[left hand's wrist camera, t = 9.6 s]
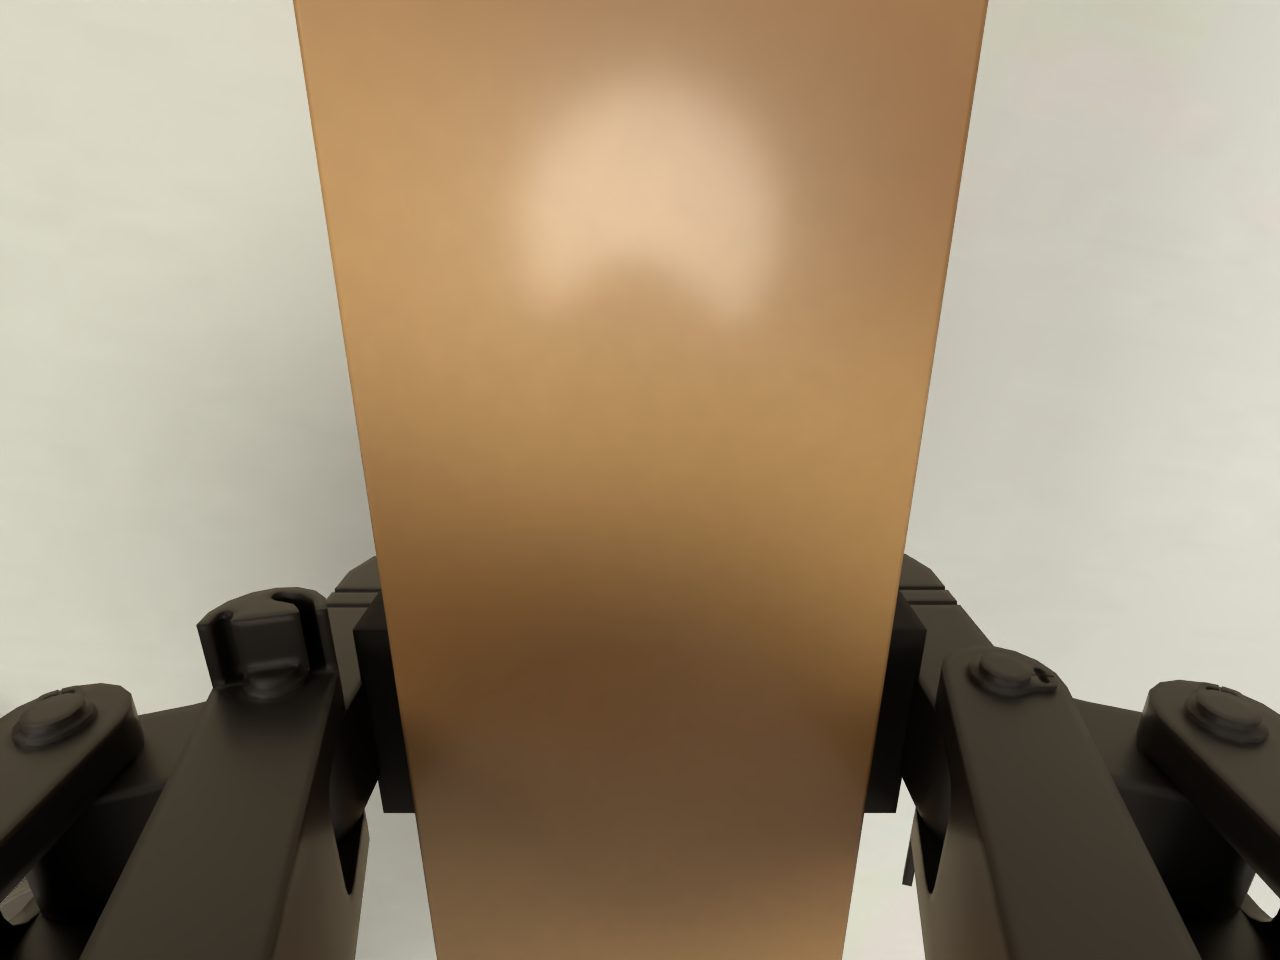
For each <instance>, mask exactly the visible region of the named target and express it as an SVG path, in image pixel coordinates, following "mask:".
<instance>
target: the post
mask: <svg viewBox="0 0 1280 960" xmlns="http://www.w3.org/2000/svg"><path fill="white" fill-rule="evenodd" d="M293 4H294V10H295V17H296V24H297V30H298V37H299V43H300V50H301V57H302V63H303V70H304V77H305V83H306V90H307V97H308V103H309V110H310V117H311V123H312V130H313V137H314V143H315V150H316V157H317V163H318V170H319V177H320V183H321V190H322V196H323V203H324V210H325V216H326V223H327V230H328V236H329V243H330V250H331V256H332V263H333V270H334V276H335V283H336V290H337V296H338V303H339V310H340V316H341V323H342V330H343V336H344V343H345V350H346V356H347V363H348V369H349V376H350V383H351V389H352V396H353V403H354V409H355V416H356V423H357V429H358V436H359V443H360V449H361V456H362V463H363V469H364V476H365V483H366V489H367V496H368V503H369V509H370V516H371V523H372V529H373V536H374V542H375V549H376V556H377V562H378V569H379V576H380V582H381V589H382V596H383V602H384V609H385V616H386V622H387V629H388V636H389V642H390V649H391V656H392V662H393V669H394V676H395V682H396V689H397V695H398V702H399V709H400V715H401V722H402V729H403V735H404V742H405V749H406V755H407V762H408V769H409V775H410V782H411V789H412V795H413V802H414V809H415V815H416V822H417V829H418V835H419V842H420V849H421V855H422V862H423V868H424V875H425V882H426V888H427V895H428V902H429V908H430V915H431V922H432V928H433V935H434V942H435V948H436V955H437V960H842V955H843V948H844V941H845V935H846V928H847V922H848V915H849V909H850V902H851V896H852V889H853V883H854V876H855V869H856V863H857V856H858V850H859V843H860V837H861V830H862V824H863V817H864V811H865V804H866V797H867V791H868V784H869V778H870V771H871V765H872V758H873V752H874V745H875V739H876V732H877V726H878V719H879V712H880V706H881V699H882V693H883V686H884V680H885V673H886V667H887V660H888V654H889V647H890V640H891V634H892V627H893V621H894V614H895V608H896V601H897V595H898V588H899V582H900V575H901V568H902V562H903V555H904V549H905V542H906V536H907V529H908V523H909V516H910V510H911V503H912V496H913V490H914V483H915V477H916V470H917V464H918V457H919V451H920V444H921V438H922V431H923V424H924V418H925V411H926V405H927V398H928V392H929V385H930V379H931V372H932V366H933V359H934V352H935V346H936V339H937V333H938V326H939V320H940V313H941V307H942V300H943V294H944V287H945V280H946V274H947V267H948V261H949V254H950V248H951V241H952V235H953V228H954V222H955V215H956V209H957V202H958V195H959V189H960V182H961V176H962V169H963V163H964V156H965V150H966V143H967V137H968V130H969V123H970V117H971V110H972V104H973V97H974V91H975V84H976V78H977V71H978V65H979V58H980V51H981V45H982V38H983V32H984V25H985V19H986V12H987V6H988V0H293Z"/></svg>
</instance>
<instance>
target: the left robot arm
mask: <svg viewBox="0 0 1280 960" xmlns="http://www.w3.org/2000/svg"><path fill="white" fill-rule="evenodd" d="M197 629H198V633H199V637H200V640H201V644H202V648H203V652H204V656H205V659H206V663H207V667H208V671H209V675H210V678H211V682H212V686H213V689H212V691H211V693H210V695H209V697H208V699H207V701H206V702H202V703H198V704H194V705H189V706H184V707H179V708H174V709H169V710H164V711H159V712H154V713H149V714H144V715H139V716H138V714H137V711H136V708H135V705H134V702H133V699H132V695H131V693H129V692H128V691H127V690H125V689H124V688H123V687H121V686H119V685H111V684H104V683H98V684H89V685H81V686H72V687H67V688H63V689H62V690H60V691H59V690H56V691H53V692H50V693H46V694H44V695H42V696H40V697H39V698H37V699H35V700H33V701H31V702H28V703H26V704H24V705H22V706H19V707H17V708H16V709H14V710H13V711H11V712H10V713H8V714H7V715H5V716H3V717H2V718H0V903H1V902H2V901H3V900H4V899H5V898H6V896H7V895H8V894H9V893H10V892H11V891H12V890H13V889H14V888H15V887H16V886H17V884H18V883H19V882H20V881H21V880H22V879H23V878H24V877H26V880H24V881H23V882H22V883H21V884H20V885H19V886H18V887H17V888H16V889H15V890H14V891H13V892H12V893H11V894H10V895H9V897H8V898H7V899H6V900H5V901H4V902H3V903H2V904H1V905H0V960H355V953H356V945H357V937H358V929H359V920H360V912H361V904H362V896H363V888H364V880H365V871H366V863H367V855H368V847H369V832H368V825H367V820H366V814H365V809H364V808H365V806H366V804H367V802H368V800H369V798H370V796H371V793H372V791H373V789H374V787H375V785H376V783H377V780H378V782H379V788H380V794H381V800H382V806H383V812H384V813H415V809H414V802H413V795H412V789H411V782H410V775H409V769H408V762H407V755H406V749H405V742H404V735H403V729H402V722H401V715H400V709H399V702H398V695H397V689H396V682H395V676H394V669H393V662H392V656H391V649H390V642H389V636H388V629H387V622H386V616H385V609H384V602H383V596H382V589H381V582H380V576H379V569H378V562H377V556H374V557H372V558H371V559H369V560H367V561H366V562H364V563H362V564H361V565H359V566H358V567H356V568H354V569H353V570H351V571H349V573H348V574H347V575H346V576H345V577H344V579H343V580H342V581H341V582H340V584H339V585H338V586H337V587H336V588H335V593H331V595H330V596H329V597H328V598H327V600H326V598H325V597H323V596H322V595H321V594H319V593H318V592H317V591H314V590H309V589H304V588H300V587H289V588H273V589H268V590H263V591H258V592H253V593H250V594H247V595H244V596H241V597H238V598H236V599H233V600H230V601H228V602H226V603H224V604H222V605H221V606H219V607H217V608H216V609H214V610H212V611H210V612H209V613H208V614H207V615H206V616H205V617H204V618H203V619H202V620H201V621H200V622H199V623H198V624H197ZM902 778H903V780H904V782H905V784H906V787H907V789H908V791H909V793H910V795H911V797H912V799H913V802H914V804H915V806H916V809H915V814H914V820H913V825H912V830H911V836H910V841H909V847H908V852H907V858H906V863H905V868H904V875H903V882H902V884H903V885H908V886H912V882H913V877H914V872H915V878H916V886H917V894H918V902H919V910H920V919H921V927H922V935H923V943H924V951H925V959H926V960H1280V909H1279V911H1278V913H1277V915H1276V916H1275V917H1274V918H1271V917H1270V916H1268V915H1267V914H1266V913H1265V912H1264V911H1263V910H1262V909H1261V908H1259V906H1258V905H1257V904H1256V903H1255V902H1254V901H1253V900H1252V898H1251V897H1250V896H1249V895H1248V894H1247V892H1248V890H1249V887H1250V885H1251V883H1252V880H1253V878H1254V876H1255V873H1257V874H1258V875H1259V876H1260V877H1261V879H1262V880H1263V881H1264V882H1265V883H1266V884H1267V885H1268V886H1269V887H1270V888H1271V889H1272V891H1273V892H1274V893H1275V894H1276V895H1277V896H1278V897H1279V898H1280V714H1278V713H1276V712H1275V711H1273V710H1272V709H1270V708H1269V707H1267V706H1266V705H1264V704H1262V703H1260V702H1258V701H1255V700H1253V699H1251V698H1249V697H1246V696H1244V695H1242V694H1241V693H1240V692H1238V691H1235V690H1232V689H1229V688H1226V687H1223V686H1222V687H1219V686H1218V685H1215V684H1210V683H1206V682H1194V681H1185V680H1174V681H1167V682H1160V683H1159V684H1157V685H1156V686H1155V687H1153V688H1152V689H1151V690H1149V693H1148V697H1147V700H1146V703H1145V706H1144V709H1143V712H1137V711H1132V710H1127V709H1122V708H1117V707H1112V706H1107V705H1101V704H1096V703H1091V702H1086V701H1082V700H1078V699H1075V698H1072V696H1071V694H1070V692H1069V690H1068V688H1067V686H1066V685H1065V684H1064V683H1063V681H1062V680H1061V679H1060V678H1059V676H1058V675H1057V674H1056V673H1055V672H1053V671H1052V670H1050V669H1049V668H1047V667H1046V666H1045V665H1043V664H1042V663H1040V662H1039V661H1037V660H1035V659H1032V658H1030V657H1028V656H1025V655H1023V654H1020V653H1018V652H1016V651H1012V650H1008V649H1003V648H999V647H995V646H993V645H992V643H991V642H990V641H989V640H988V638H987V637H986V636H985V635H984V634H983V632H982V631H981V630H980V629H979V628H978V626H977V625H976V624H975V623H974V621H973V620H972V619H971V618H970V617H969V615H968V614H967V613H966V612H965V610H964V609H963V608H962V607H961V606H960V605H957V601H956V600H955V598H954V597H953V596H952V595H951V593H950V592H949V591H948V590H945V586H944V585H943V584H942V582H941V581H940V580H939V579H938V578H937V576H936V575H935V574H934V573H933V572H932V570H931V569H930V568H928V567H926V566H925V565H923V564H921V563H920V562H918V561H916V560H915V559H913V558H911V557H910V556H908V555H906V554H904V555H903V562H902V568H901V575H900V582H899V588H898V595H897V601H896V608H895V614H894V621H893V627H892V634H891V640H890V647H889V654H888V660H887V667H886V673H885V680H884V686H883V693H882V699H881V706H880V712H879V719H878V726H877V732H876V739H875V745H874V752H873V758H872V765H871V771H870V778H869V784H868V791H867V797H866V804H865V811H864V813H896V809H897V803H898V797H899V791H900V785H901V780H902Z"/></svg>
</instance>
